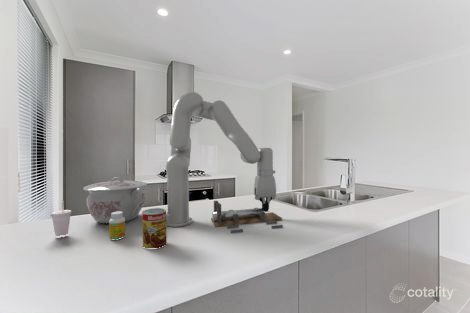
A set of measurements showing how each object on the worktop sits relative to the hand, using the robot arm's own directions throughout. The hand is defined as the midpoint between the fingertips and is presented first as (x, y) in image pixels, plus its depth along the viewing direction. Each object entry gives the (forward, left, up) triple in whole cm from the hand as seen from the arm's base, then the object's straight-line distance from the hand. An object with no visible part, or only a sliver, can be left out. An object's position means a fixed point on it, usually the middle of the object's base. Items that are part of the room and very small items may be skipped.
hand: (265, 211), depth 109 cm
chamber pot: (-69, +20, -4) cm, 72 cm away
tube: (-14, 0, -2) cm, 14 cm away
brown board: (-10, 0, -4) cm, 10 cm away
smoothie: (-85, +2, -4) cm, 85 cm away
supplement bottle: (-64, -6, -4) cm, 64 cm away
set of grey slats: (-10, -11, -4) cm, 15 cm away
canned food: (-50, -17, -4) cm, 53 cm away
